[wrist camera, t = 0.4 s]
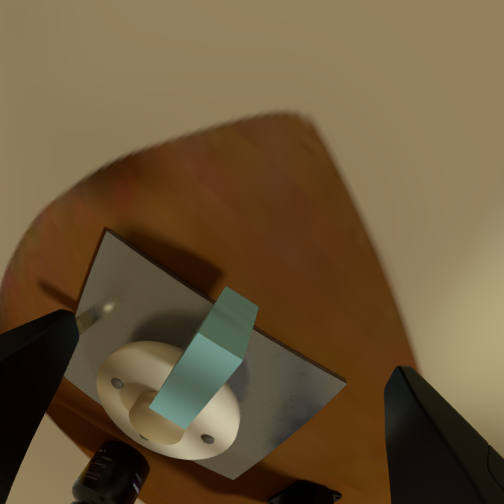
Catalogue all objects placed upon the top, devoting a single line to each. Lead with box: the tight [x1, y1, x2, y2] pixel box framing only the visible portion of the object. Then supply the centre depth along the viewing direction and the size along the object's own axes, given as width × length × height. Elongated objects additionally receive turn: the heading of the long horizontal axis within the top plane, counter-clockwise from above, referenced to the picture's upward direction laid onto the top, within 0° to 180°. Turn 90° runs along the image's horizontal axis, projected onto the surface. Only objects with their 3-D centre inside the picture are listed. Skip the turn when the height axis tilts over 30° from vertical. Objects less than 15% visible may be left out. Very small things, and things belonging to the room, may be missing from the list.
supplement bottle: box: [71, 441, 150, 504], centre depth 25 cm, size 7×7×12 cm
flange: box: [97, 286, 259, 460], centre depth 19 cm, size 18×12×6 cm
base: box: [64, 230, 347, 480], centre depth 23 cm, size 18×22×6 cm
